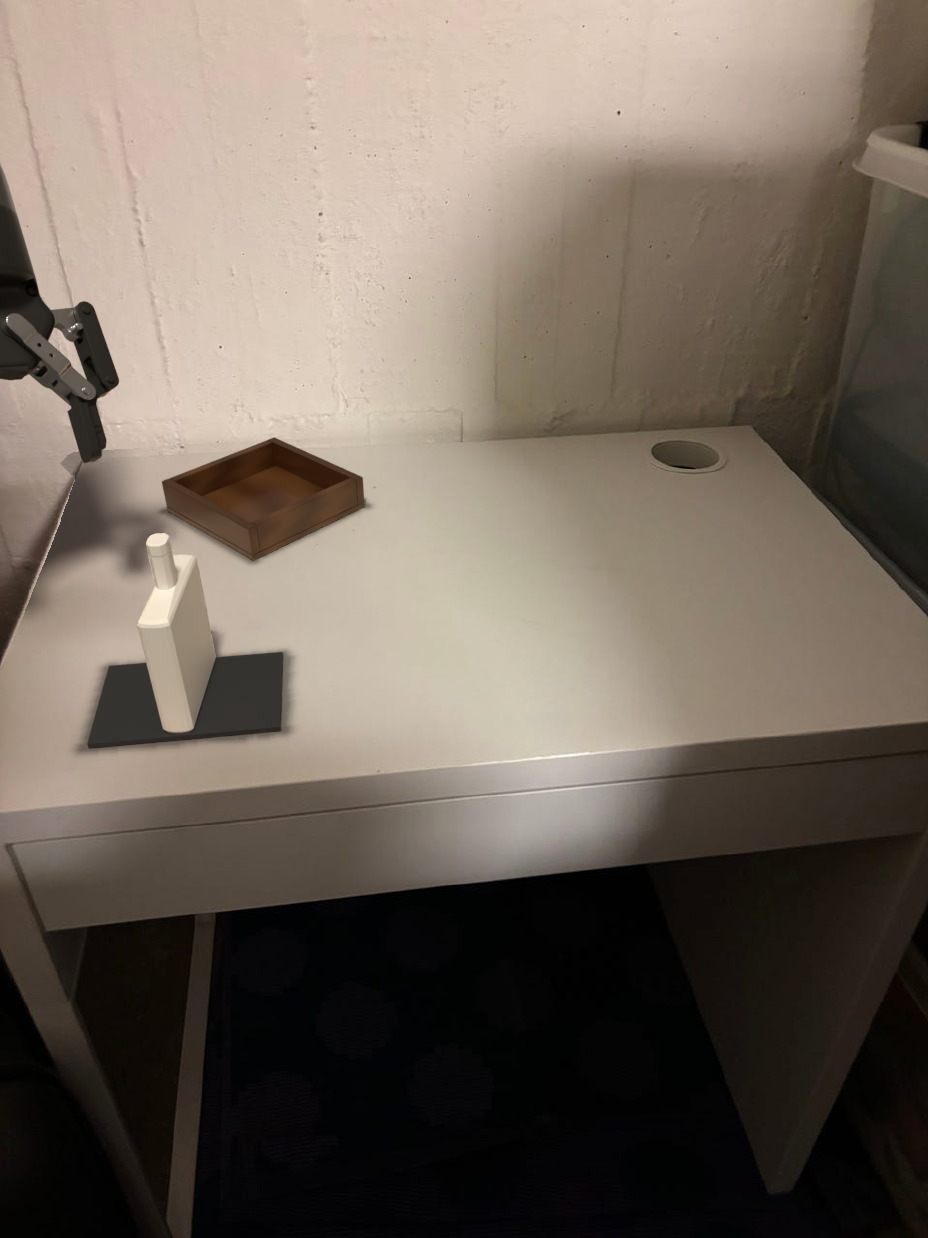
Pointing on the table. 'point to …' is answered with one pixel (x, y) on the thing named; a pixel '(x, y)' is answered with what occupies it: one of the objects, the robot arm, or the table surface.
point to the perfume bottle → (176, 636)
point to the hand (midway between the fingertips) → (28, 469)
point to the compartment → (263, 496)
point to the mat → (230, 706)
